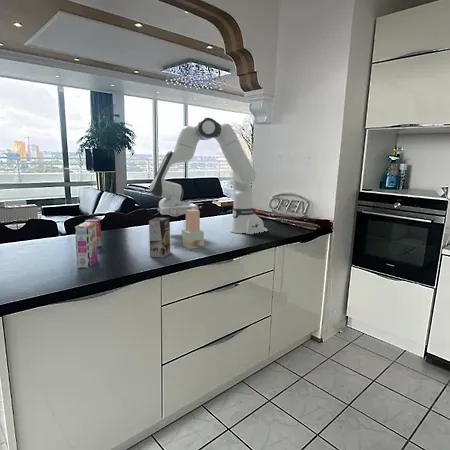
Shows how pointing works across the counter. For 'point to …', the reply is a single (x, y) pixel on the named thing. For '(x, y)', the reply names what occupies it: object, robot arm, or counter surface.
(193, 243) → the oak slab
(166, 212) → the robot arm
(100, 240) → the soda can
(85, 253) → the candy bar box
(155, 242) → the coffee box
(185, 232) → the sage slab
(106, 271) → the counter surface
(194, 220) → the coral block
